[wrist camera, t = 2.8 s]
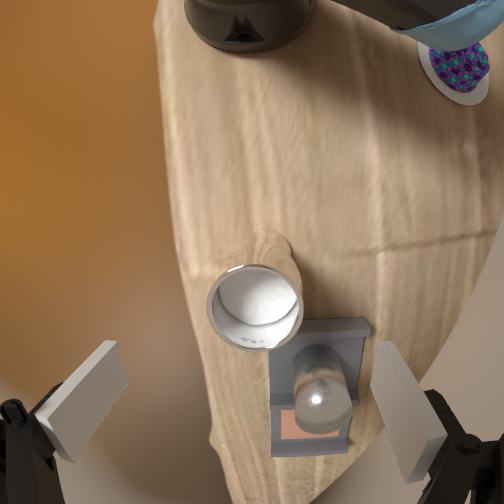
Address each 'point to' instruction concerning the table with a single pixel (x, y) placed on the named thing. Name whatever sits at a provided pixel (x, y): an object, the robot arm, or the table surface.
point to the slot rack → (282, 386)
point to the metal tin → (320, 390)
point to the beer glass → (257, 294)
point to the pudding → (458, 72)
